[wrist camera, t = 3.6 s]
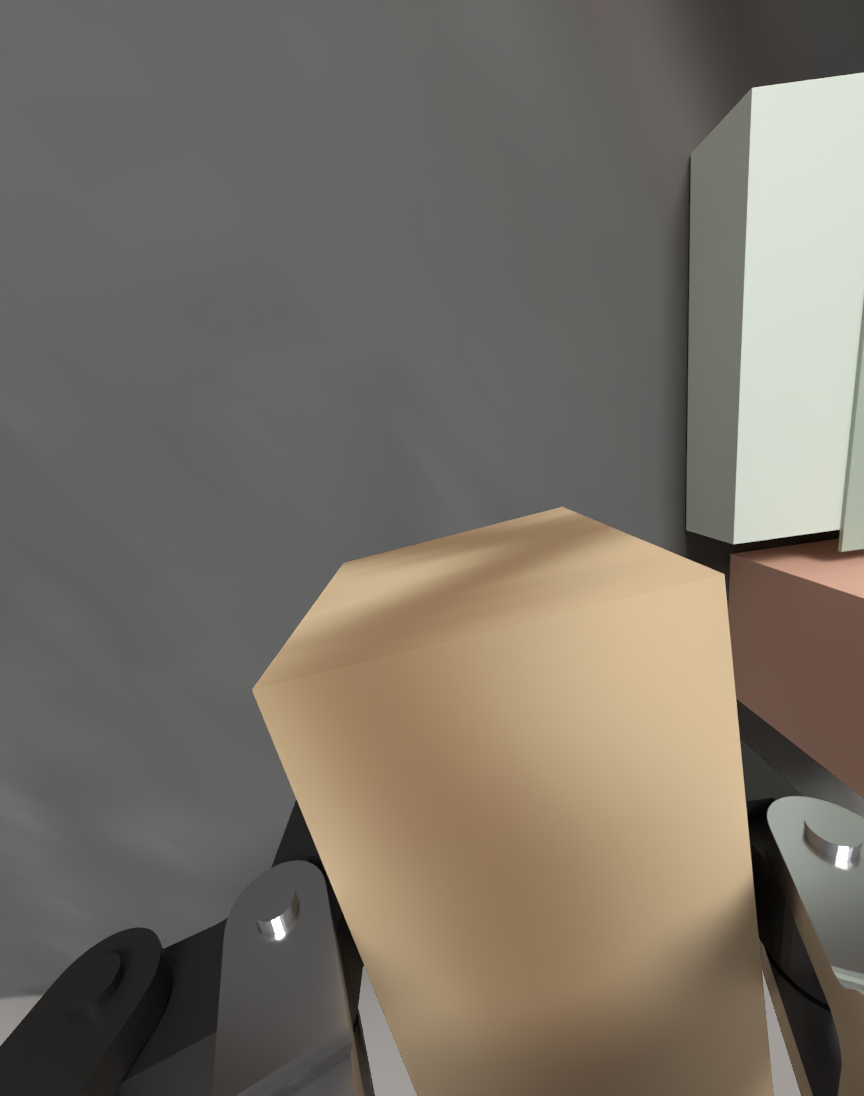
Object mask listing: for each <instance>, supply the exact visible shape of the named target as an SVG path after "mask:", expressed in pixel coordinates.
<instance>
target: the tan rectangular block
mask: <svg viewBox="0 0 864 1096" xmlns="http://www.w3.org/2000/svg"><path fill="white" fill-rule="evenodd" d="M252 691H253V693H254V696H255V698H256V701H257V703H258V706H259V708H260V711H261V713H262V716H263V718H264V720H265V723H266V725H267V728H268V730H269V733H270V735H271V738H272V740H273V743H274V745H275V747H276V750H277V752H278V755H279V757H280V760H281V762H282V765H283V767H284V770H285V772H286V774H287V777H288V779H289V782H290V784H291V787H292V789H293V792H294V794H295V797H296V799H297V801H298V804H299V806H300V809H301V811H302V814H303V816H304V819H305V821H306V824H307V826H308V829H309V831H310V833H311V836H312V838H313V841H314V843H315V846H316V848H317V851H318V853H319V856H320V858H321V860H322V863H323V865H324V868H325V870H326V873H327V875H328V878H329V880H330V883H331V885H332V887H333V890H334V892H335V895H336V897H337V900H338V902H339V905H340V907H341V910H342V912H343V914H344V917H345V919H346V922H347V924H348V927H349V929H350V932H351V934H352V937H353V939H354V941H355V944H356V946H357V949H358V951H359V954H360V956H361V959H362V961H363V964H364V966H365V968H366V971H367V973H368V976H369V978H370V981H371V983H372V986H373V988H374V990H375V993H376V995H377V998H378V1000H379V1003H380V1005H381V1008H382V1010H383V1013H384V1015H385V1018H386V1020H387V1022H388V1024H389V1027H390V1030H391V1032H392V1035H393V1037H394V1040H395V1042H396V1044H397V1047H398V1050H399V1052H400V1054H401V1057H402V1059H403V1062H404V1064H405V1067H406V1069H407V1072H408V1074H409V1076H410V1079H411V1081H412V1084H413V1086H414V1089H415V1091H416V1093H417V1096H774V1094H773V1084H772V1074H771V1063H770V1052H769V1041H768V1031H767V1021H766V1010H765V1000H764V990H763V989H764V988H763V978H762V967H761V957H760V946H759V936H758V925H757V914H756V904H755V893H754V883H753V872H752V861H751V851H750V840H749V830H748V819H747V808H746V798H745V787H744V777H743V766H742V755H741V745H740V734H739V724H738V713H737V702H736V692H735V681H734V671H733V660H732V649H731V639H730V628H729V618H728V607H727V596H726V586H725V575H724V574H723V573H720V572H718V571H716V570H713V569H711V568H708V567H706V566H704V565H701V564H699V563H696V562H694V561H692V560H689V559H687V558H684V557H682V556H680V555H677V554H675V553H672V552H670V551H668V550H665V549H663V548H660V547H658V546H656V545H653V544H651V543H648V542H646V541H643V540H641V539H639V538H636V537H634V536H631V535H629V534H627V533H624V532H622V531H619V530H617V529H615V528H612V527H610V526H607V525H605V524H603V523H600V522H598V521H595V520H593V519H591V518H588V517H586V516H583V515H581V514H578V513H576V512H574V511H571V510H569V509H566V508H564V507H560V508H556V509H552V510H548V511H545V512H541V513H537V514H533V515H529V516H525V517H521V518H517V519H513V520H509V521H505V522H502V523H498V524H494V525H490V526H486V527H482V528H478V529H474V530H470V531H466V532H463V533H459V534H455V535H451V536H447V537H443V538H439V539H435V540H431V541H427V542H424V543H420V544H416V545H412V546H408V547H404V548H400V549H396V550H392V551H388V552H385V553H381V554H377V555H373V556H369V557H365V558H361V559H357V560H353V561H349V562H345V563H343V564H342V566H341V567H340V569H339V570H338V571H337V573H336V574H335V576H334V577H333V578H332V580H331V581H330V582H329V584H328V585H327V587H326V588H325V589H324V591H323V592H322V594H321V595H320V596H319V598H318V599H317V600H316V602H315V603H314V605H313V606H312V607H311V609H310V610H309V612H308V613H307V614H306V616H305V617H304V618H303V620H302V621H301V623H300V624H299V625H298V627H297V628H296V630H295V631H294V632H293V634H292V635H291V636H290V638H289V639H288V641H287V642H286V643H285V645H284V646H283V648H282V649H281V650H280V652H279V653H278V654H277V656H276V657H275V659H274V660H273V661H272V663H271V664H270V666H269V667H268V668H267V670H266V671H265V672H264V674H263V675H262V677H261V678H260V679H259V681H258V682H257V684H256V685H255V686H254V688H253V689H252Z"/></svg>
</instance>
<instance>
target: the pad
mask: <svg viewBox="0 0 864 1096" xmlns="http://www.w3.org/2000/svg"><path fill="white" fill-rule="evenodd" d="M686 530H687V531H690V532H694V533H697V534H700V535H704V536H707V537H710V538H714V539H717V540H720V541H724V542H727V543H730V544H740V543H747V542H754V541H761V540H769V539H776V538H783V537H790V536H797V535H804V534H812V533H819V532H826V531H833V530H840V535H839V545H838V551H840V552H844V551H851V550H859V549H864V73H857V74H850V75H843V76H835V77H828V78H821V79H814V80H806V81H799V82H792V83H784V84H777V85H770V86H762V87H755V88H752V89H751V90H750V91H749V92H748V93H747V94H746V95H745V96H744V97H743V98H742V99H741V100H740V102H739V103H738V104H737V105H736V106H735V107H734V108H733V109H732V110H731V111H730V112H729V113H728V114H727V116H726V117H725V118H724V119H723V120H722V121H721V122H720V123H719V124H718V125H717V126H716V127H715V129H714V130H713V131H712V132H711V133H710V134H709V135H708V136H707V137H706V138H705V139H704V140H703V142H702V143H701V144H700V145H699V146H698V147H697V148H696V149H695V150H694V151H693V152H692V153H691V182H690V261H689V339H688V418H687V496H686Z"/></svg>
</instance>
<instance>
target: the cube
mask: <svg viewBox="0 0 864 1096" xmlns="http://www.w3.org/2000/svg"><path fill="white" fill-rule="evenodd" d="M838 545H839V539H832V540H825V541H818V542H810V543H803V544H796V545H789V546H782V547H775V548H768V549H761V550H754V551H747V552H740V553H733V554H730V578H729V606H728V618H729V628H730V639H731V649H732V660H733V671H734V681H735V692H736V699H737V700H739V701H740V702H741V703H742V704H744V705H745V706H746V707H748V708H749V709H750V710H751V711H753V712H754V713H755V714H757V715H758V716H759V717H760V718H762V719H763V720H764V721H765V722H767V723H768V724H769V725H771V726H772V727H773V728H774V729H776V730H777V731H778V732H780V733H781V734H782V735H783V736H785V737H786V738H787V739H788V740H790V741H791V742H792V743H794V744H795V745H796V746H797V747H799V748H800V749H801V750H803V751H804V752H805V753H806V754H808V755H809V756H810V757H811V758H813V759H814V760H815V761H817V762H818V763H819V764H820V765H822V766H823V767H824V768H826V769H827V770H828V771H829V772H831V773H832V774H833V775H835V776H836V777H837V778H838V779H840V780H841V781H842V782H843V783H845V784H846V785H847V786H849V787H850V788H851V789H852V790H854V791H855V792H856V793H858V794H859V795H860V796H861V797H863V798H864V549H859V550H851V551H844V552H840V551H838Z"/></svg>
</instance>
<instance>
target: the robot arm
mask: <svg viewBox="0 0 864 1096" xmlns="http://www.w3.org/2000/svg"><path fill="white" fill-rule="evenodd" d="M740 745H741V755H742V766H743V777H744V787H745V798H746V808H747V819H748V830H749V840H750V851H751V861H752V872H753V883H754V893H755V904H756V914H757V925H758V936H759V946H760V957H761V967H762V971H763V974H764V977H765V980H766V984H767V987H768V990H769V993H770V996H771V1000H772V1003H773V1006H774V1009H775V1013H776V1016H777V1019H778V1022H779V1025H780V1028H781V1032H782V1035H783V1038H784V1041H785V1045H786V1048H787V1051H788V1054H789V1057H790V1061H791V1064H792V1067H793V1071H794V1074H795V1077H796V1080H797V1083H798V1087H799V1090H800V1093H801V1096H864V818H862V817H860V816H859V815H857V814H855V813H853V812H851V811H849V810H847V809H845V808H843V807H841V806H838V805H835V804H833V803H830V802H827V801H823V800H820V799H815V798H810V797H803V796H802V795H801V794H800V793H799V792H798V791H797V790H796V789H795V788H794V787H793V786H791V785H790V784H789V783H788V782H787V781H786V780H785V779H784V778H783V777H782V776H781V775H780V774H778V773H777V772H776V771H775V770H774V769H773V768H772V767H771V766H770V765H769V764H768V763H766V762H765V761H764V760H763V759H762V758H761V757H760V756H759V755H758V754H757V753H756V752H754V751H753V750H752V749H751V748H750V747H749V746H748V745H747V744H746V743H745V742H744V741H742V740H741V739H740ZM363 966H364V964H363V961H362V959H361V956H360V954H359V951H358V949H357V946H356V944H355V941H354V939H353V937H352V934H351V932H350V929H349V927H348V924H347V922H346V919H345V917H344V914H343V912H342V910H341V907H340V905H339V902H338V900H337V897H336V895H335V892H334V890H333V887H332V885H331V883H330V880H329V878H328V875H327V873H326V870H325V868H324V865H323V863H322V860H321V858H320V856H319V853H318V851H317V848H316V846H315V843H314V841H313V838H312V836H311V833H310V831H309V829H308V826H307V824H306V821H305V819H304V816H303V814H302V811H301V809H300V806H299V804H298V801H297V799H296V802H295V805H294V808H293V810H292V813H291V816H290V819H289V821H288V824H287V827H286V829H285V832H284V835H283V838H282V840H281V843H280V846H279V849H278V851H277V854H276V857H275V859H274V862H273V865H272V867H271V868H270V869H268V870H267V871H265V872H264V873H262V874H261V875H259V876H258V877H257V878H256V879H255V880H254V881H252V882H251V883H250V884H249V886H248V887H247V888H246V889H245V890H244V891H243V892H242V894H241V895H240V896H239V898H238V899H237V901H236V902H235V904H234V906H233V907H232V910H231V912H230V914H229V916H228V918H227V919H225V920H224V921H222V922H220V923H218V924H216V925H214V926H212V927H210V928H208V929H206V930H204V931H202V932H199V933H197V934H195V935H193V936H191V937H189V938H186V939H184V940H182V941H180V942H178V943H175V944H173V945H171V946H169V947H167V948H165V949H163V948H162V945H161V943H160V940H159V938H158V937H157V935H156V934H155V933H154V932H153V931H152V930H150V929H147V928H131V929H127V930H124V931H121V932H118V933H116V934H114V935H112V936H109V937H108V938H106V939H104V940H102V941H101V942H99V943H97V944H96V945H95V946H93V947H92V948H90V949H89V950H88V951H86V952H85V953H84V954H83V955H81V956H80V957H79V958H78V959H77V960H75V961H74V962H73V963H72V964H71V965H70V966H69V967H68V968H67V969H66V970H65V971H64V972H63V973H62V974H61V976H60V977H59V978H58V979H57V980H56V981H55V982H54V983H53V985H52V986H51V987H50V988H49V989H48V990H47V992H46V993H45V994H44V995H43V996H42V998H41V999H40V1000H39V1001H38V1002H37V1004H36V1005H35V1006H34V1007H33V1008H32V1010H31V1011H30V1012H29V1013H28V1014H27V1016H26V1017H25V1018H24V1019H23V1020H22V1021H21V1023H20V1024H19V1025H18V1026H17V1027H16V1029H15V1030H14V1031H13V1032H12V1033H11V1034H10V1036H9V1037H8V1038H7V1039H6V1041H5V1042H4V1043H3V1044H2V1045H1V1046H0V1096H375V1094H374V1088H373V1083H372V1078H371V1072H370V1067H369V1062H368V1056H367V1051H366V1045H365V1040H364V1035H363V1029H362V1024H361V1019H360V1014H359V1010H358V1003H359V994H360V986H361V978H362V968H363Z"/></svg>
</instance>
